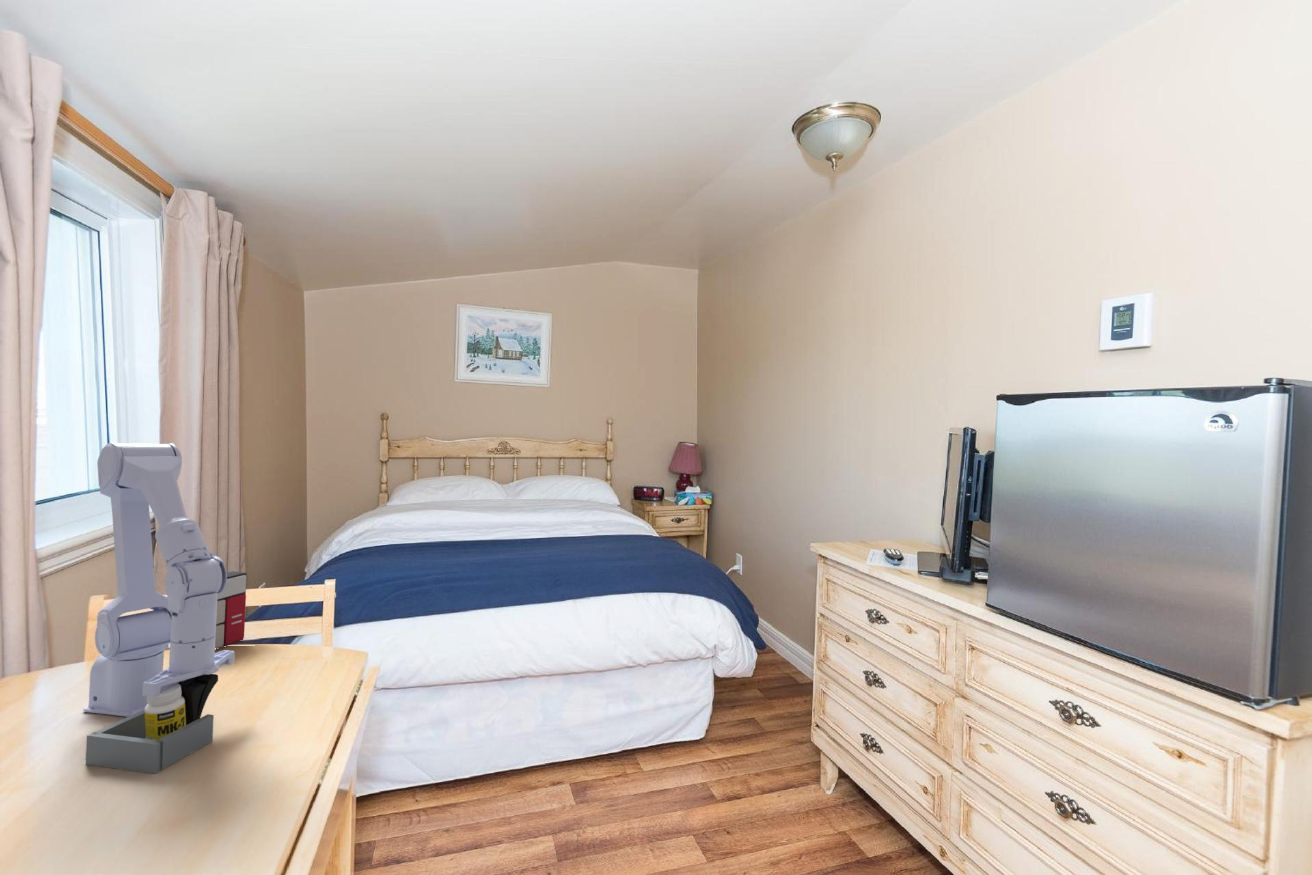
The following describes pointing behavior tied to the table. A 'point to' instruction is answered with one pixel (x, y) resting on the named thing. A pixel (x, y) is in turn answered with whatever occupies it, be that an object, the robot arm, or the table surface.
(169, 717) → the supplement bottle
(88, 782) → the table surface
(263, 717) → the table surface
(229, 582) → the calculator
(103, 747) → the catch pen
